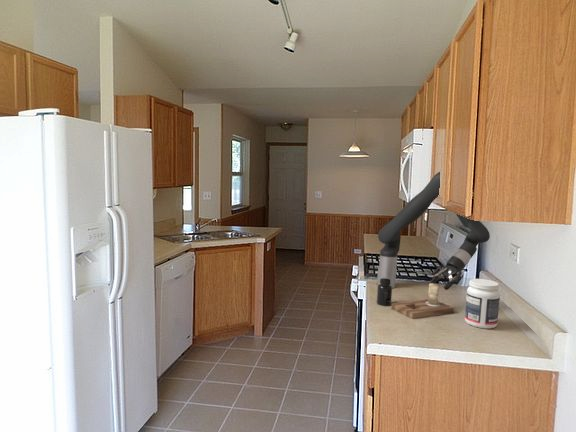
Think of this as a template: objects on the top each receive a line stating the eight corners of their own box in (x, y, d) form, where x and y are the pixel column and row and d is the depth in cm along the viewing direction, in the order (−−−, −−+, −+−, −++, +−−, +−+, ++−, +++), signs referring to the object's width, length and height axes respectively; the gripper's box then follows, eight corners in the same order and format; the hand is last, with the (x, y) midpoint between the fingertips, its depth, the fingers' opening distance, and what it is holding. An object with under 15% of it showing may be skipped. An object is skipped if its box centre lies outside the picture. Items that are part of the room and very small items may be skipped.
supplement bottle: (373, 302, 207) (375, 278, 206) (385, 301, 210) (386, 277, 208) (382, 306, 201) (383, 281, 199) (394, 305, 204) (395, 280, 202)
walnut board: (391, 308, 199) (391, 303, 198) (431, 303, 209) (431, 298, 208) (412, 318, 186) (412, 312, 186) (453, 312, 196) (453, 307, 196)
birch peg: (425, 302, 201) (427, 283, 200) (432, 301, 203) (434, 283, 202) (432, 305, 197) (434, 286, 196) (439, 304, 199) (441, 285, 198)
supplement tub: (493, 321, 187) (497, 279, 185) (500, 331, 175) (504, 287, 173) (462, 317, 190) (465, 276, 188) (466, 327, 178) (470, 284, 176)
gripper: (443, 252, 208) (423, 277, 205) (467, 258, 196) (446, 285, 192) (451, 262, 211) (431, 287, 208) (474, 269, 198) (453, 295, 195)
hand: (438, 286), depth 200 cm, fingers open, 8 cm apart
